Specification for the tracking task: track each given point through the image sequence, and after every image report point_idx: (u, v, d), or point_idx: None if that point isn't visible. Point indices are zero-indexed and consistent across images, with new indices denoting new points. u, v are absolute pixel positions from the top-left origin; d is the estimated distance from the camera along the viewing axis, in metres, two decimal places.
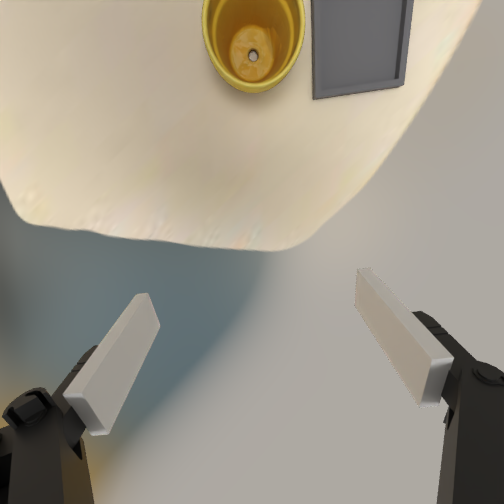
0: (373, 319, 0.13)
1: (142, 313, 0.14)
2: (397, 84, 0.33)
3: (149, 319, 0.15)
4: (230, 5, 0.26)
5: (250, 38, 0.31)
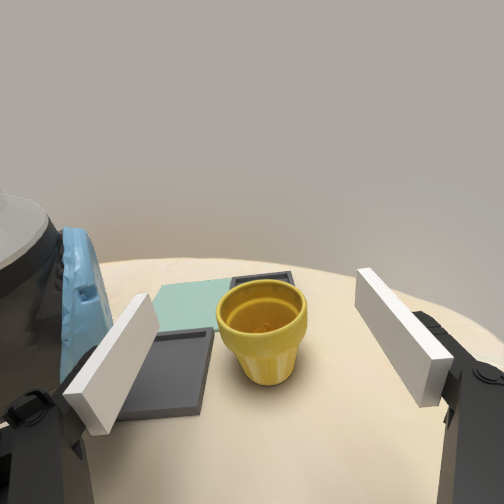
0: (373, 319, 0.13)
1: (142, 313, 0.14)
2: (290, 273, 0.48)
3: (149, 319, 0.15)
4: None
5: None
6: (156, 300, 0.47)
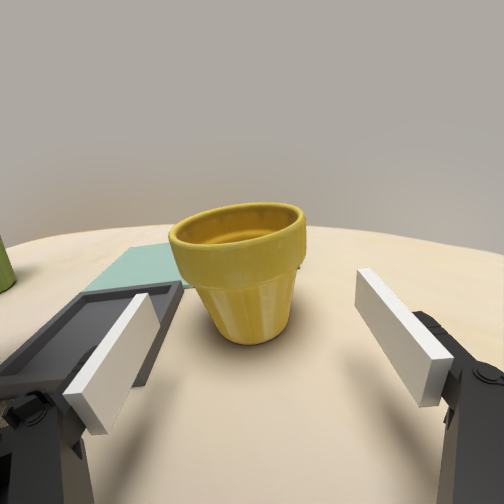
0: (373, 319, 0.13)
1: (142, 313, 0.14)
2: None
3: (149, 319, 0.15)
4: None
5: None
6: (118, 261, 0.38)
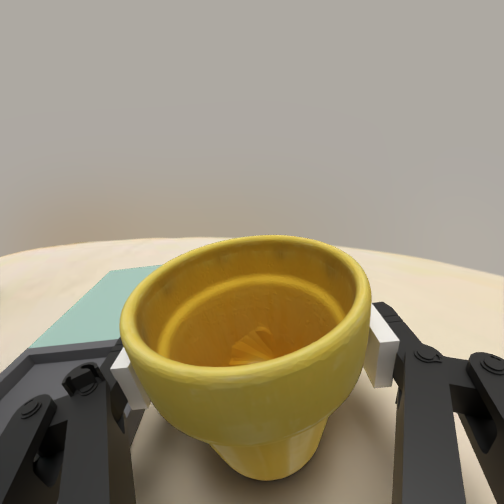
0: None
1: None
2: None
3: None
4: None
5: None
6: (92, 291, 0.30)
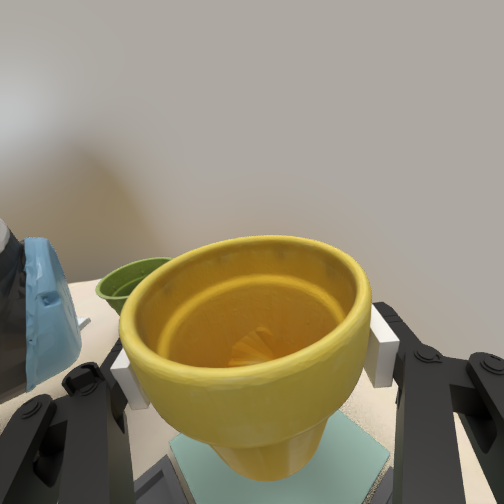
0: None
1: None
2: None
3: None
4: None
5: None
6: None
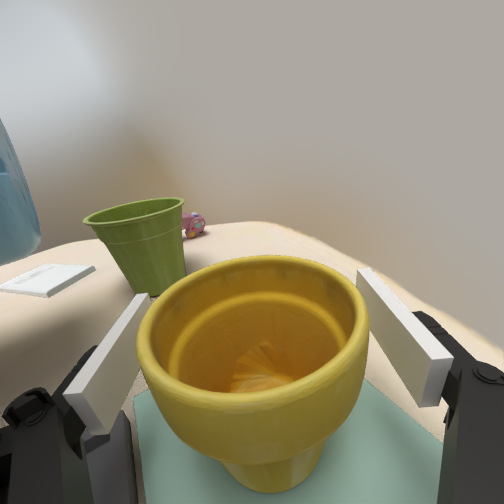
0: (373, 319, 0.13)
1: (142, 313, 0.14)
2: None
3: None
4: None
5: None
6: None
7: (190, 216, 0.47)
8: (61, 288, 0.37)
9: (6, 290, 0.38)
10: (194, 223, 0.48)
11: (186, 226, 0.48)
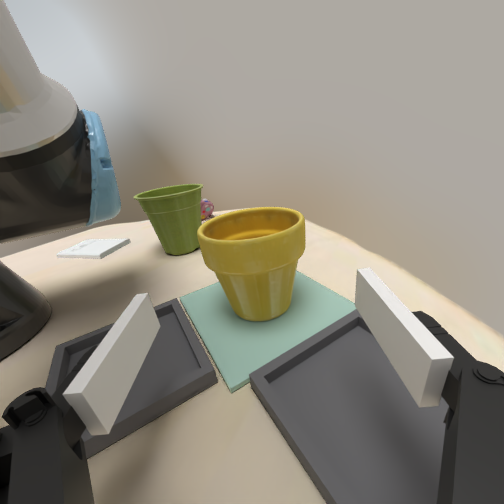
0: (373, 319, 0.13)
1: (142, 313, 0.14)
2: None
3: (149, 319, 0.15)
4: None
5: None
6: None
7: (202, 201, 0.60)
8: (108, 253, 0.49)
9: (64, 256, 0.50)
10: (204, 207, 0.60)
11: None
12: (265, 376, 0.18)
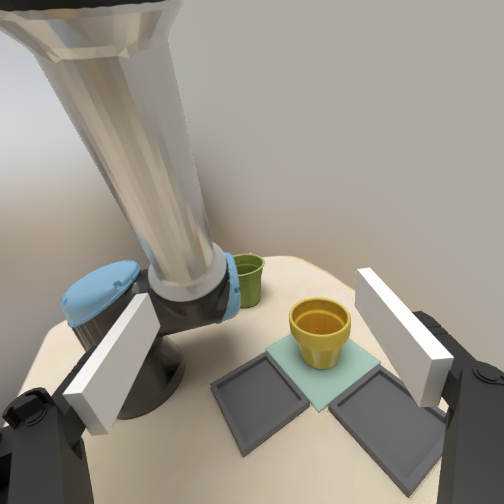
0: (373, 319, 0.13)
1: (142, 313, 0.14)
2: None
3: (149, 319, 0.15)
4: None
5: None
6: None
7: None
8: None
9: None
10: None
11: None
12: (337, 404, 0.36)
